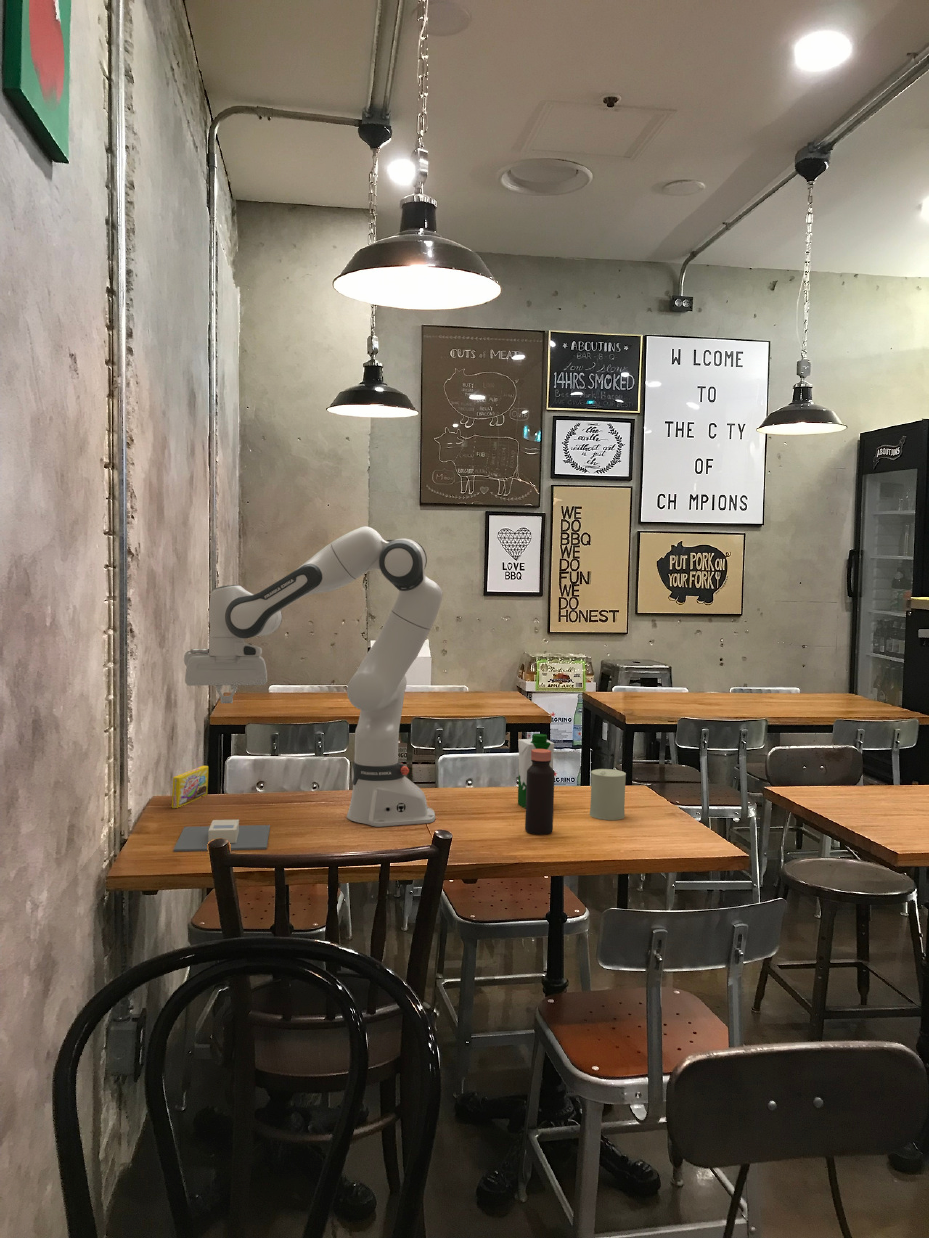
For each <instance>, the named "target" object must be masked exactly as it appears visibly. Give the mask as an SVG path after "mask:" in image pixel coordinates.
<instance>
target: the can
mask: <svg viewBox="0 0 929 1238" xmlns="http://www.w3.org/2000/svg"><path fill="white" fill-rule="evenodd" d="M590 775H591V776H590V778H591V779H590V783H591V784H590V786H591V787H590V810H589V816H590V818H591V817H592V818H593V819H595V820H600V821H619V820H623V819H624V818H625V817H626V815H625V800H626V799H625V798H626V777H627V773H626V772H624V771H622V770H619V769H609V768H598V769H593V770H591V773H590Z"/></svg>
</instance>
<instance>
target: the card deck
mask: <svg viewBox="0 0 929 1238" xmlns="http://www.w3.org/2000/svg"><path fill="white" fill-rule="evenodd" d="M209 826H210V828H209V836H208V842H209V841H211V840H212V839H217V838H223V839H227V840H228V841H229V842H230V843H236V841H237V837H238V834H239V826H240V819H213V820H212V821H211V823H210V825H209Z"/></svg>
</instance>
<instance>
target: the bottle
mask: <svg viewBox="0 0 929 1238" xmlns="http://www.w3.org/2000/svg"><path fill="white" fill-rule="evenodd" d="M531 759H532V760H531V761H532V765H531V766H530V767H529V768H528V770H527V782H526V809H525V821H524V822H525V823H524V830H525V831H526V833H528V834H531V835H537V836H538V835H539V836H540V835H541V836H545V835H549V834H552V833H553V831H554V803H555V802H554V800H555V799H554V797H555V772H556V771H555V770H554V768H553V769H552V768H551V767H550V762H551V761H550V760H551V751H550V750H547V749H533V750H531Z"/></svg>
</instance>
